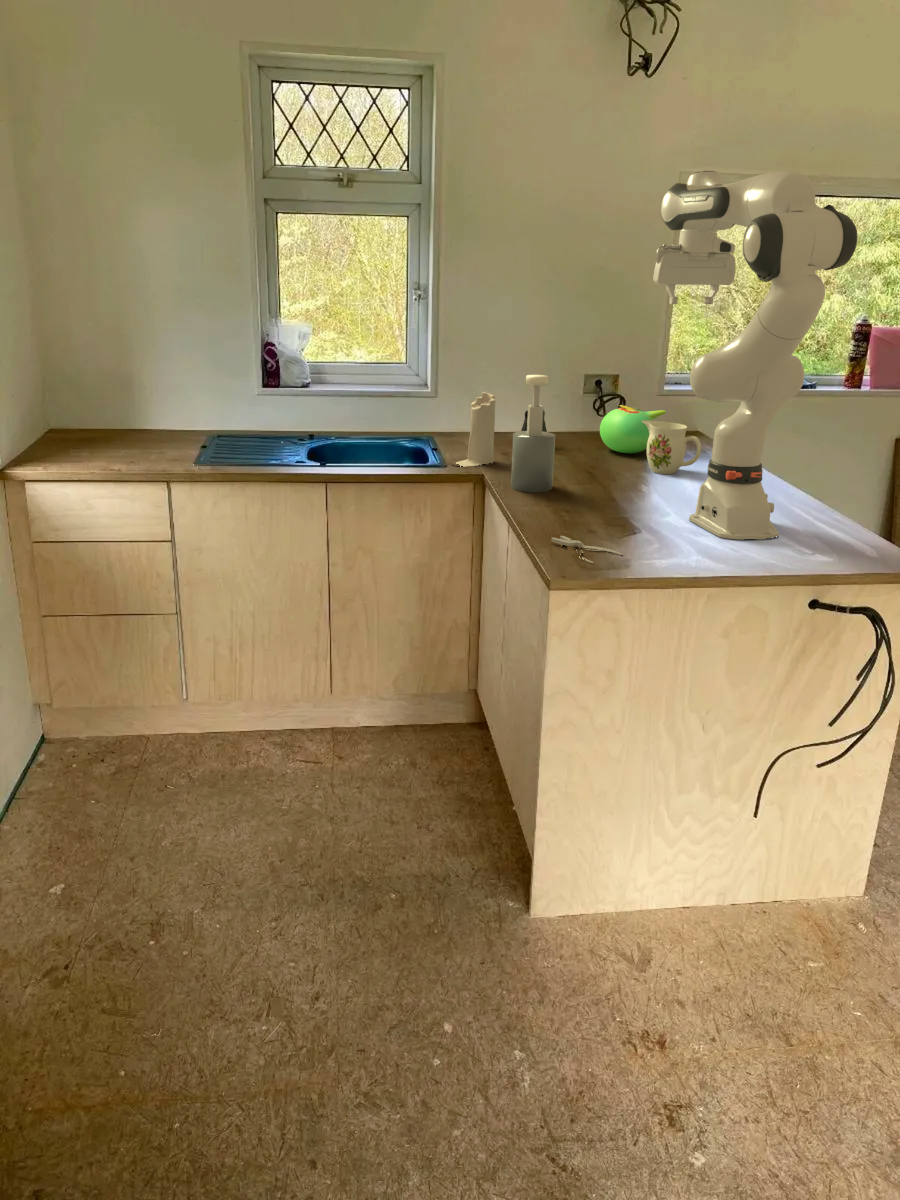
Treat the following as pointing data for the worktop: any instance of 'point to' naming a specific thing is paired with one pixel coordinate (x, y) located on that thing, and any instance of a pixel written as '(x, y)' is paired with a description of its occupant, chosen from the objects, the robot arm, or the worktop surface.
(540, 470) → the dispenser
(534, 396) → the pump head
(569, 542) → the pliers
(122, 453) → the worktop surface
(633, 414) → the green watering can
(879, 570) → the worktop surface
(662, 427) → the pitcher
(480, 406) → the candle
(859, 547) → the worktop surface
